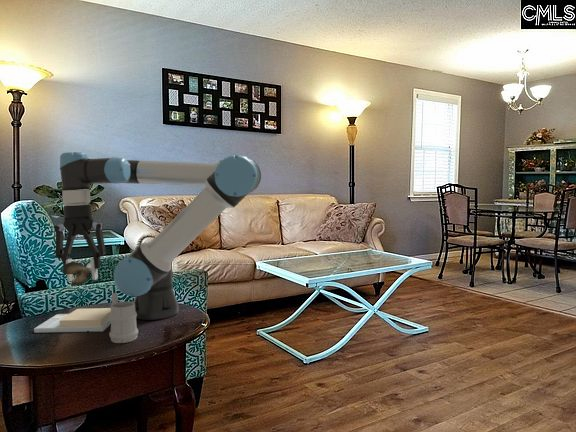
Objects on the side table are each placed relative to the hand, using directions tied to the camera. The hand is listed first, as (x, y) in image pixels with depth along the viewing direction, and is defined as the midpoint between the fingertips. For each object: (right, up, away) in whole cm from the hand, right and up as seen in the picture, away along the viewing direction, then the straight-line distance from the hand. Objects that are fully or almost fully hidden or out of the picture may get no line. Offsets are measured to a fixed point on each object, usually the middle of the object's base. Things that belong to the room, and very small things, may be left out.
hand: (82, 279), depth 133 cm
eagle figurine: (0, -1, -2) cm, 2 cm away
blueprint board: (-3, -14, +3) cm, 15 cm away
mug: (+15, -15, -8) cm, 23 cm away
